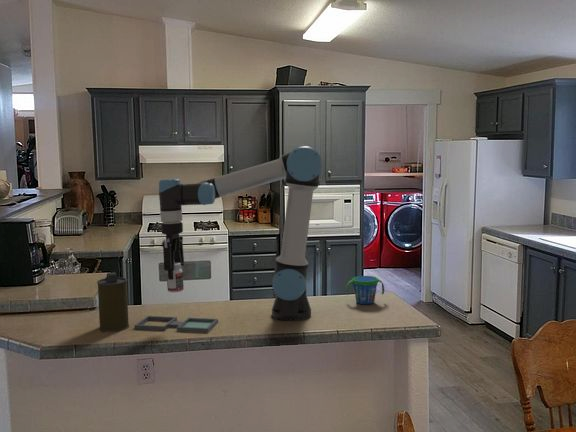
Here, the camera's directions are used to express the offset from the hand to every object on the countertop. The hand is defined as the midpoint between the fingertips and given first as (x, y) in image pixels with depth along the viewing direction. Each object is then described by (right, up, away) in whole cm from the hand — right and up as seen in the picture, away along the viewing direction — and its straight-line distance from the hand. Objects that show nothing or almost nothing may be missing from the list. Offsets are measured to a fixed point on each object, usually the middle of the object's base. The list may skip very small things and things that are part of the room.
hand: (175, 285), depth 208 cm
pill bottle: (0, -2, 0) cm, 2 cm away
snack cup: (+72, -11, +30) cm, 79 cm away
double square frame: (0, -15, +2) cm, 15 cm away
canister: (-22, -15, +1) cm, 27 cm away
